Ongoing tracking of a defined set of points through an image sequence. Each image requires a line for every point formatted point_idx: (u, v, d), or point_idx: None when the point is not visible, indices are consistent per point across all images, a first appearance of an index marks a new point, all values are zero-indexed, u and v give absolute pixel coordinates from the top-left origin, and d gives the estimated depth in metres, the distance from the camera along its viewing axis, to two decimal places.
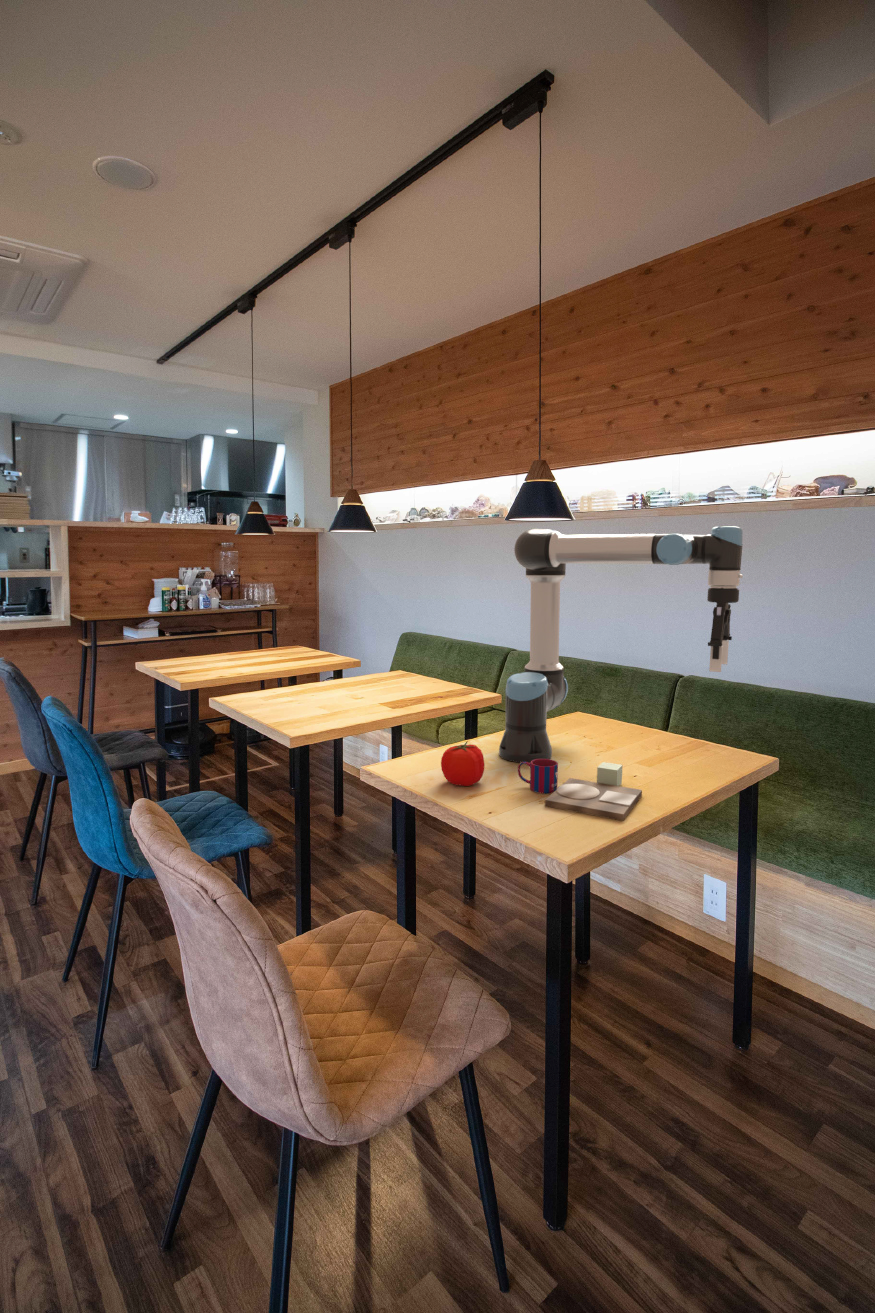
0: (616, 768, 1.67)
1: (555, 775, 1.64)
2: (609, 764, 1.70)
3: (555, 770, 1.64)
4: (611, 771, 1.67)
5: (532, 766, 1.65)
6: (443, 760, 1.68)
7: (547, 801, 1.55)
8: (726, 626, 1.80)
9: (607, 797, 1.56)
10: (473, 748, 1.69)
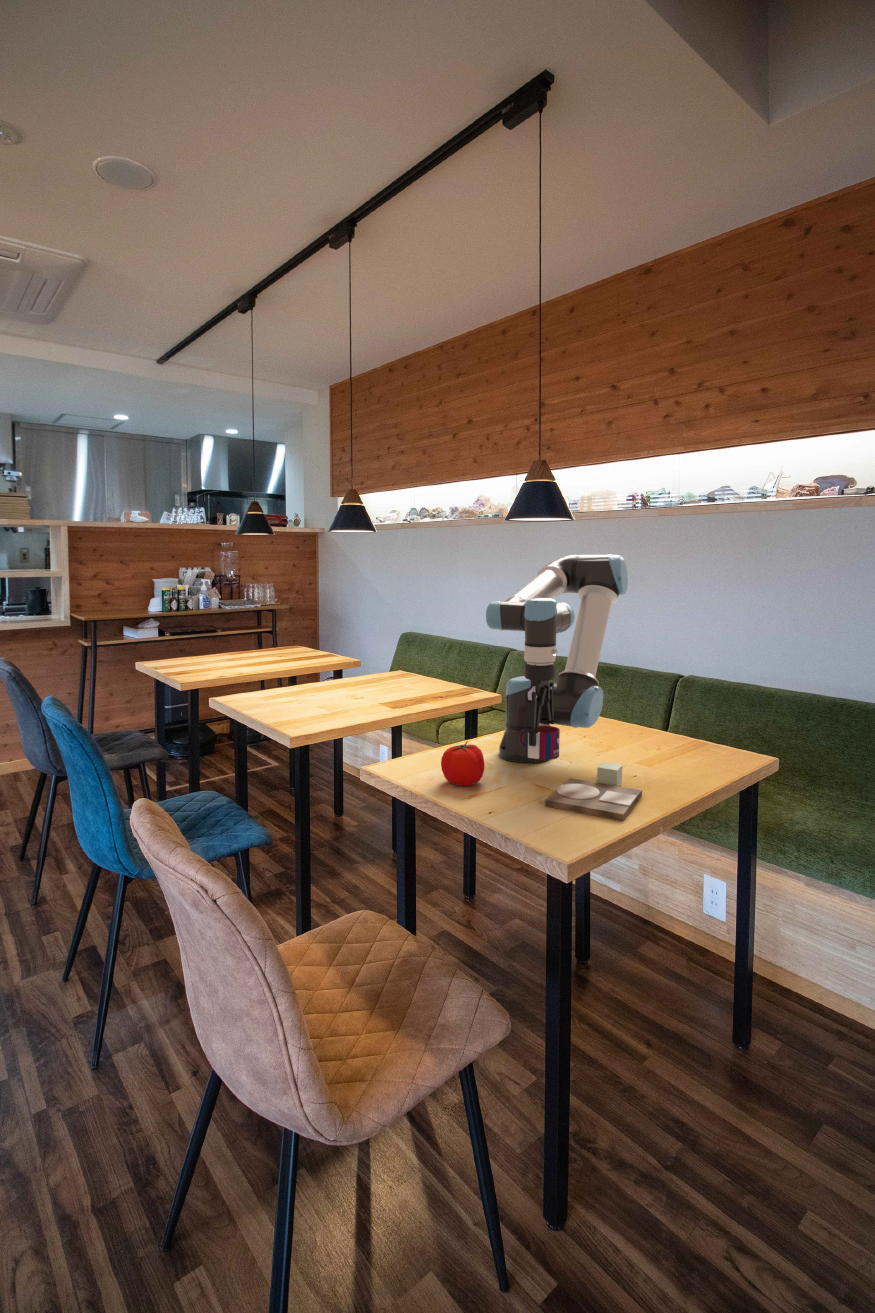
0: (616, 768, 1.67)
1: (557, 741, 1.63)
2: (609, 764, 1.70)
3: (557, 736, 1.63)
4: (611, 771, 1.67)
5: None
6: (443, 760, 1.68)
7: (547, 801, 1.55)
8: (546, 706, 1.67)
9: (607, 797, 1.56)
10: (473, 748, 1.69)
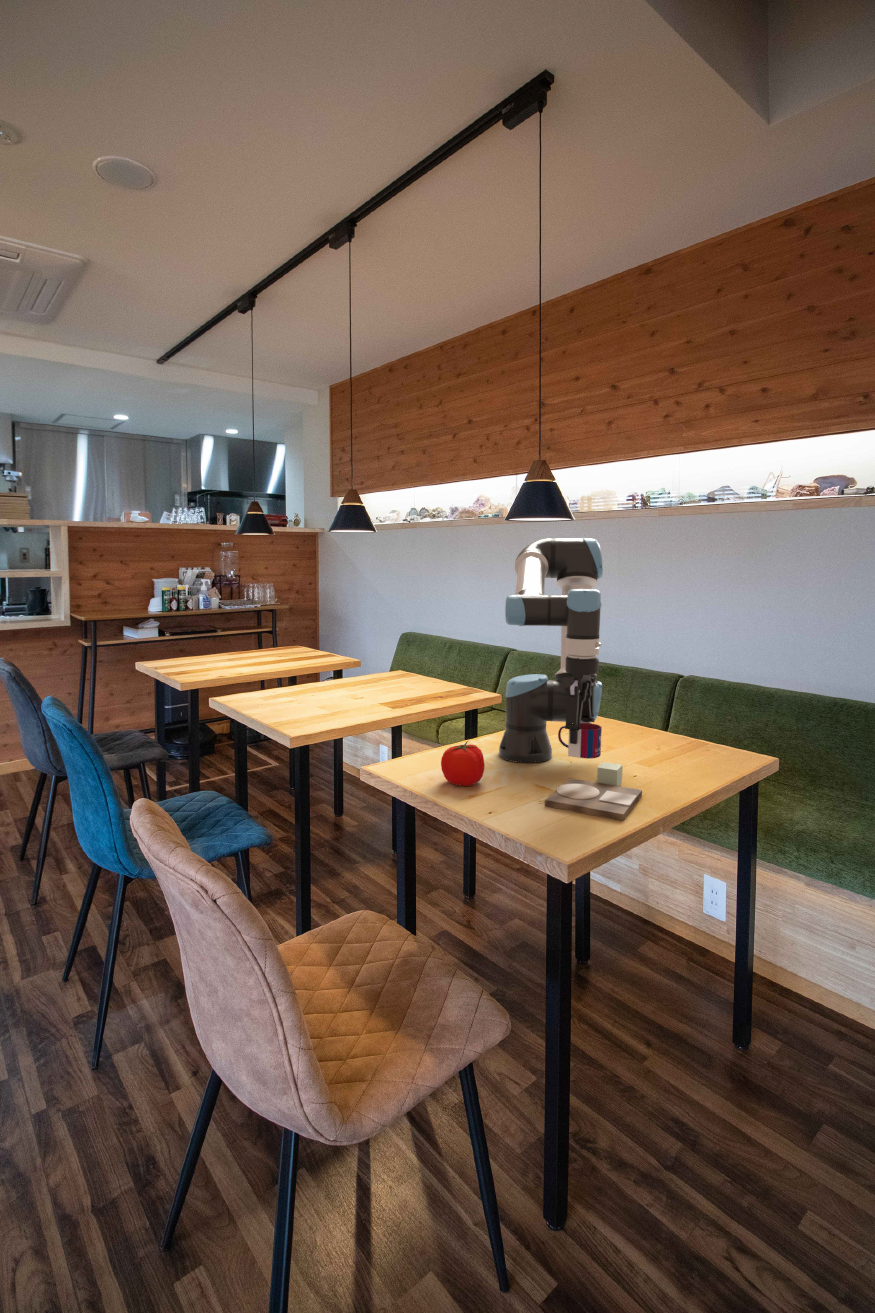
0: (616, 768, 1.67)
1: (599, 739, 1.55)
2: (609, 764, 1.70)
3: (599, 734, 1.55)
4: (611, 771, 1.67)
5: None
6: (443, 760, 1.68)
7: (547, 801, 1.55)
8: (587, 702, 1.59)
9: (607, 797, 1.56)
10: (473, 748, 1.69)
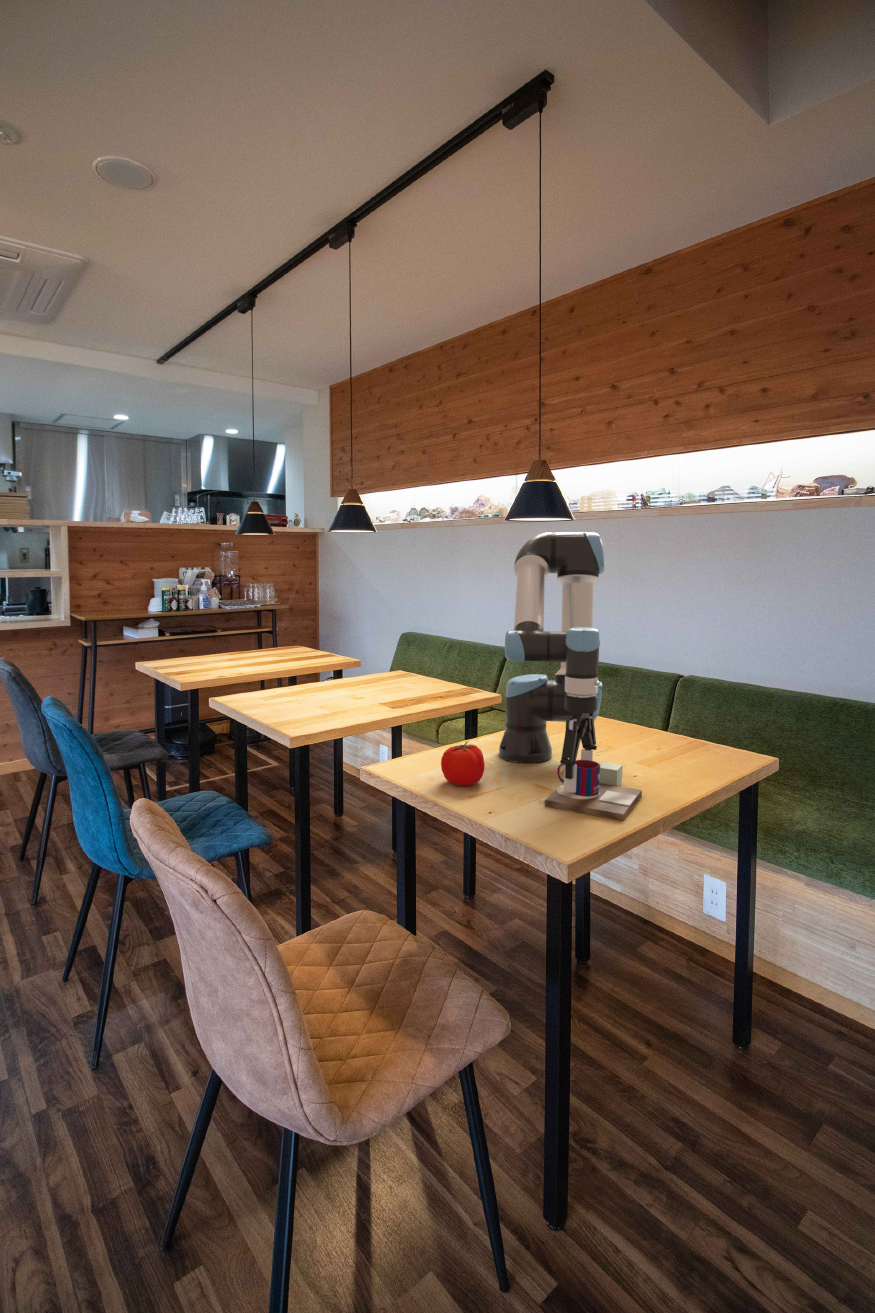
0: (616, 768, 1.67)
1: (597, 777, 1.57)
2: (609, 764, 1.70)
3: (597, 772, 1.57)
4: (611, 771, 1.67)
5: None
6: (443, 760, 1.68)
7: (547, 801, 1.55)
8: (588, 735, 1.61)
9: (607, 797, 1.56)
10: (473, 748, 1.69)
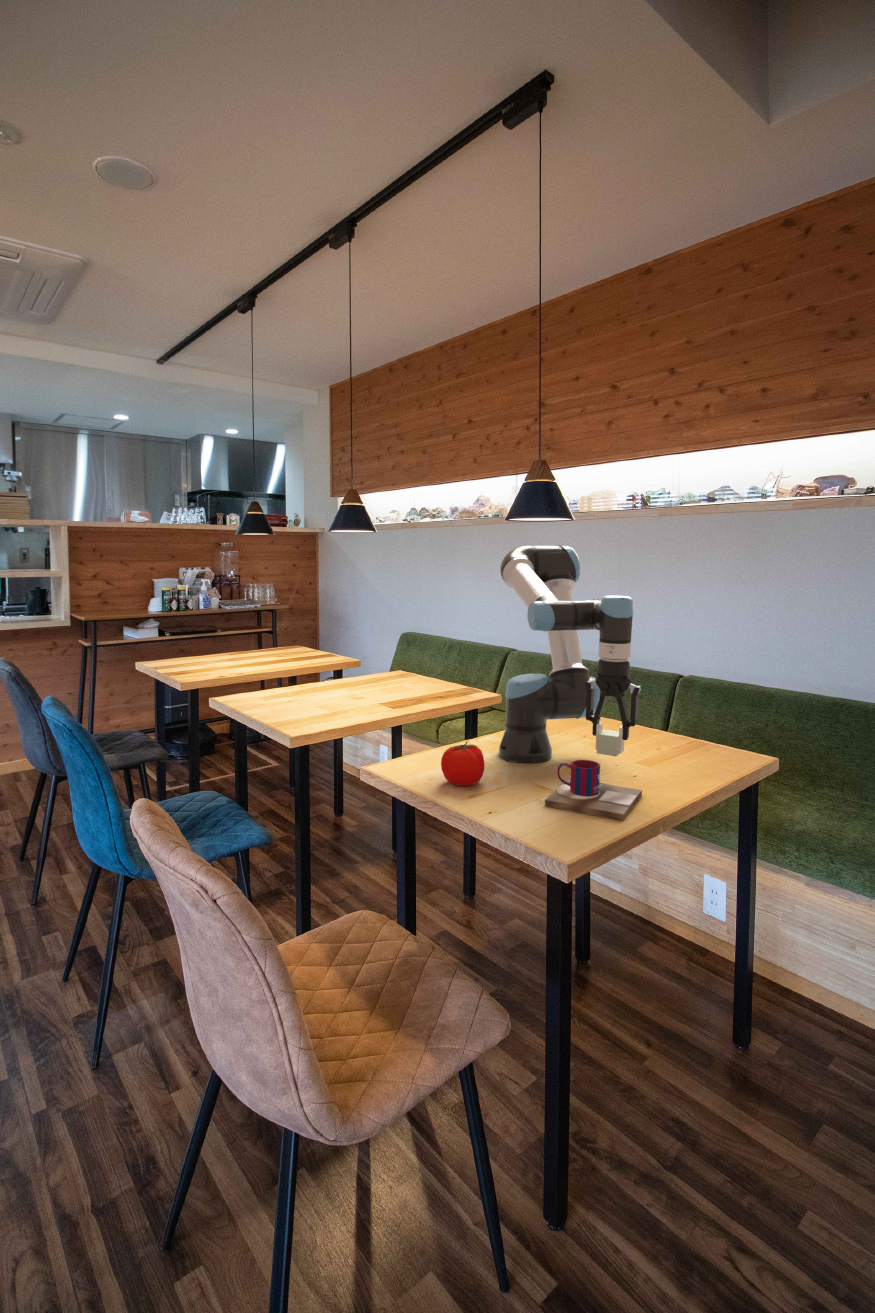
0: (616, 735, 1.66)
1: (597, 777, 1.57)
2: (609, 731, 1.69)
3: (597, 772, 1.57)
4: (612, 738, 1.66)
5: (573, 768, 1.58)
6: (443, 760, 1.68)
7: (547, 801, 1.55)
8: None
9: (607, 797, 1.56)
10: (473, 748, 1.69)
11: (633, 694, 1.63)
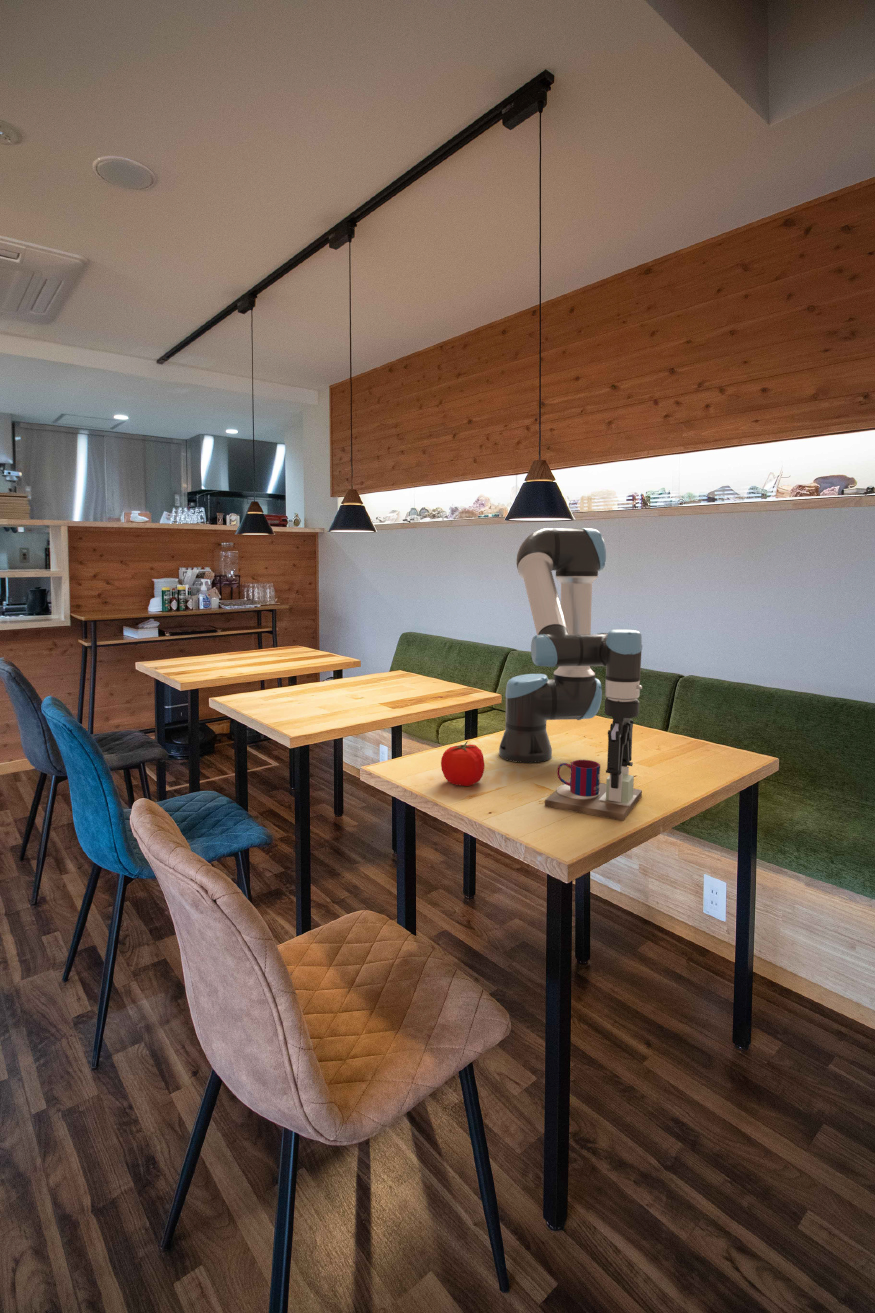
0: (627, 775, 1.56)
1: (597, 777, 1.57)
2: None
3: (597, 772, 1.57)
4: (632, 779, 1.55)
5: (573, 768, 1.58)
6: (443, 760, 1.68)
7: (547, 801, 1.55)
8: (626, 745, 1.55)
9: None
10: (473, 748, 1.69)
11: (631, 728, 1.57)
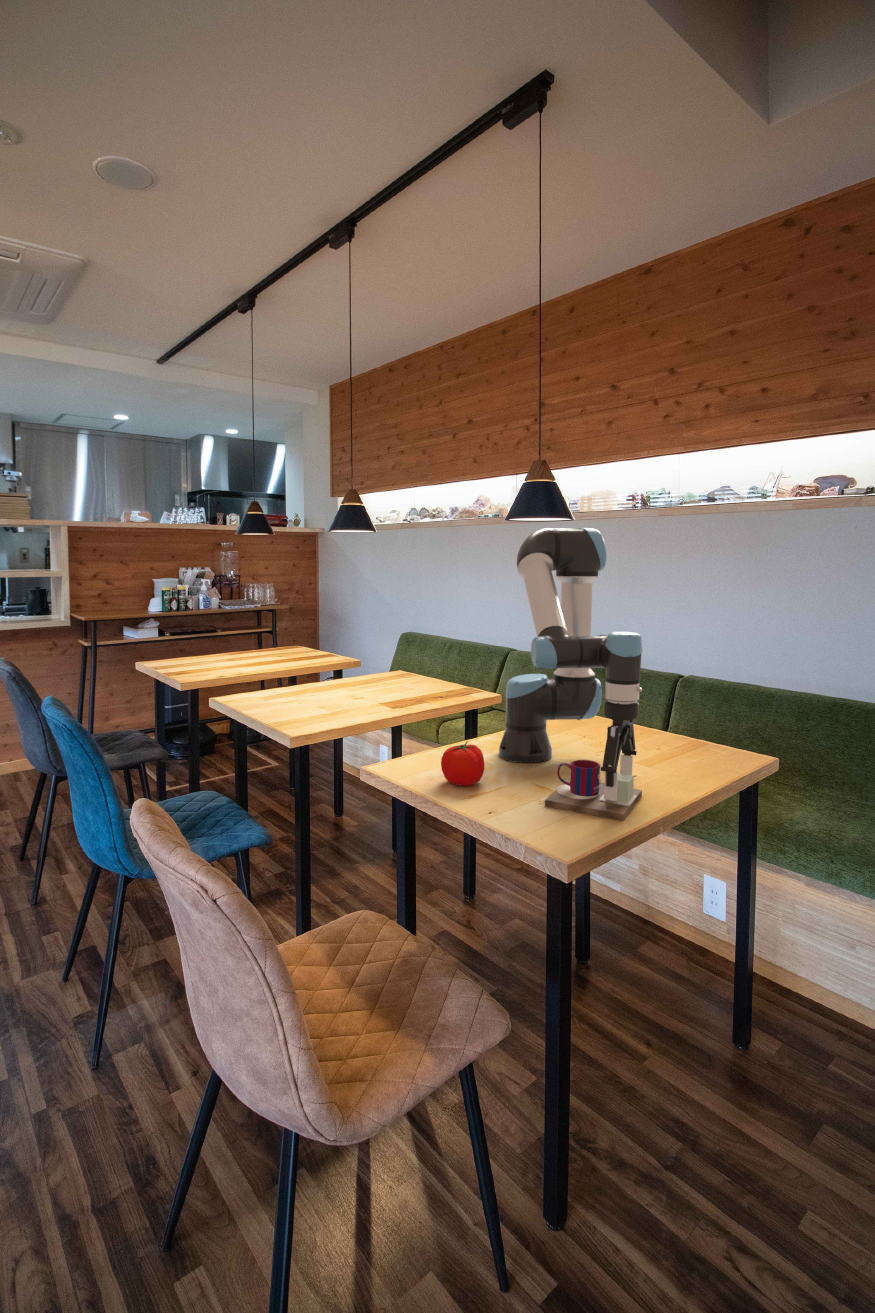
0: (627, 775, 1.56)
1: (597, 777, 1.57)
2: None
3: (597, 772, 1.57)
4: (632, 779, 1.55)
5: (573, 768, 1.58)
6: (443, 760, 1.68)
7: (547, 801, 1.55)
8: (628, 742, 1.57)
9: None
10: (473, 748, 1.69)
11: (632, 724, 1.58)
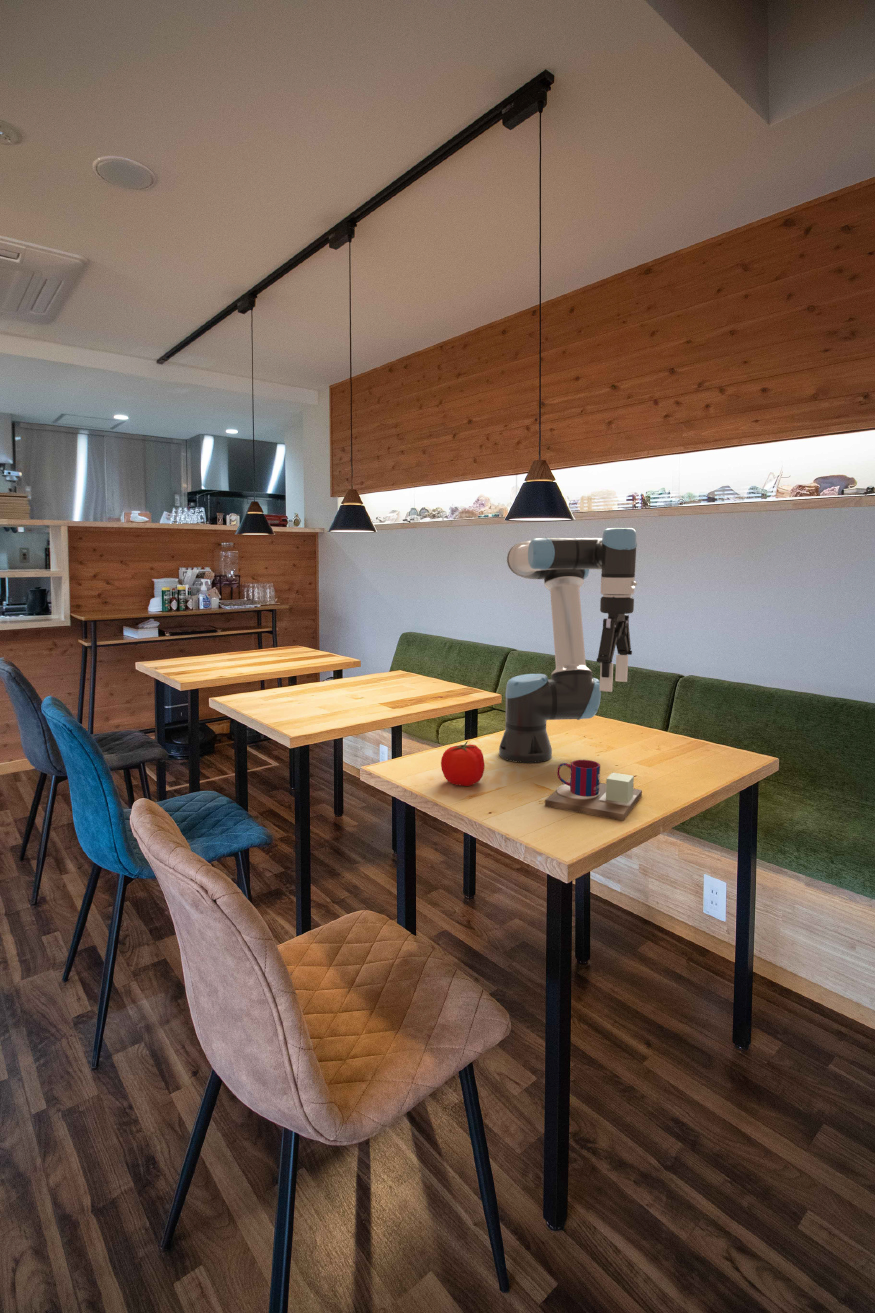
0: (627, 775, 1.56)
1: (597, 777, 1.57)
2: (614, 776, 1.55)
3: (597, 772, 1.57)
4: (632, 779, 1.55)
5: (573, 768, 1.58)
6: (443, 760, 1.68)
7: (547, 801, 1.55)
8: (623, 639, 1.60)
9: None
10: (473, 748, 1.69)
11: (627, 623, 1.61)
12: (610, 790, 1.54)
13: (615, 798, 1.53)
